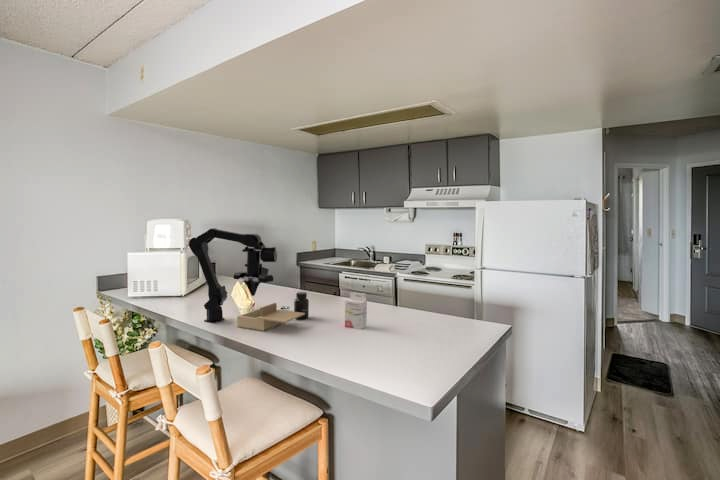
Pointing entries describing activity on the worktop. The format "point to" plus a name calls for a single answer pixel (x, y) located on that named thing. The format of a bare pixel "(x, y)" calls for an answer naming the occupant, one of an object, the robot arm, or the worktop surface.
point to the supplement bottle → (301, 305)
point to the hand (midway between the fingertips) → (253, 295)
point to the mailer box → (255, 321)
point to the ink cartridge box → (356, 311)
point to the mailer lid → (277, 314)
